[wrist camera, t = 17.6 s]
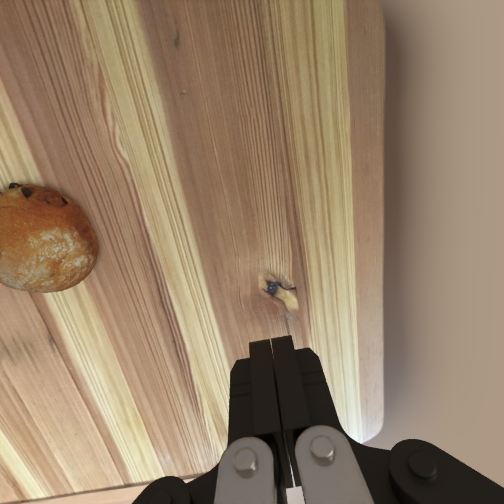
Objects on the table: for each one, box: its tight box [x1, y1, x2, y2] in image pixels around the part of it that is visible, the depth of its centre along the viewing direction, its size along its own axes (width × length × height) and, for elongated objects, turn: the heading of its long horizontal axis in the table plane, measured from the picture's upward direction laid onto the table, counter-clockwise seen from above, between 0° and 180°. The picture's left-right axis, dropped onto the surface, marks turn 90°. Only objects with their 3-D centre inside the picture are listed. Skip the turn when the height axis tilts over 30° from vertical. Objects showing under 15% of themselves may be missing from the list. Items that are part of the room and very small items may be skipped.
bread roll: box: [0, 183, 98, 293], centre depth 30 cm, size 10×10×8 cm
